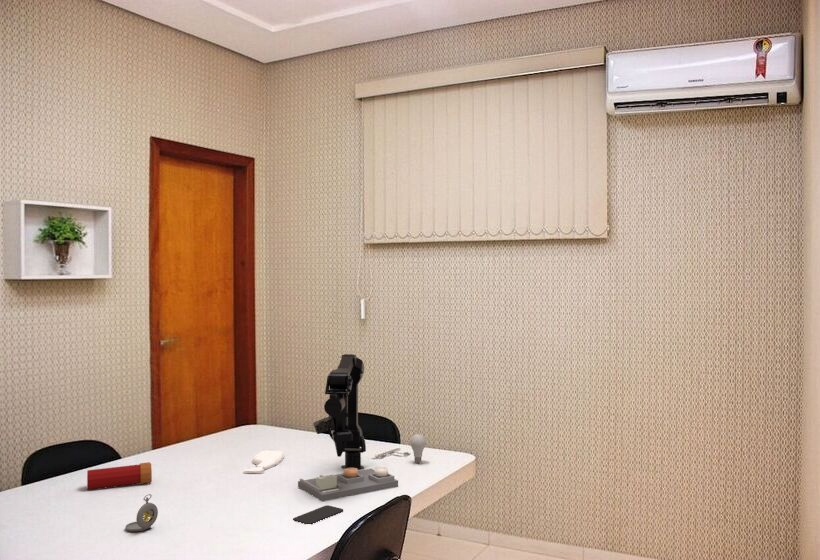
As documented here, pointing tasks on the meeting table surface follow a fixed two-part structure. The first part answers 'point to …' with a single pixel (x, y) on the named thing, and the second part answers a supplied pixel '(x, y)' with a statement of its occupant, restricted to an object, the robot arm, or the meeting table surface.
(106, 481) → the red tube
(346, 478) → the control board
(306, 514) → the phone
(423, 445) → the lightbulb
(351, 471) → the terracotta button
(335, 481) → the pale green block
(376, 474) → the offwhite button
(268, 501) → the meeting table surface
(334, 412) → the robot arm
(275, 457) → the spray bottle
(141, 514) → the pocket watch
